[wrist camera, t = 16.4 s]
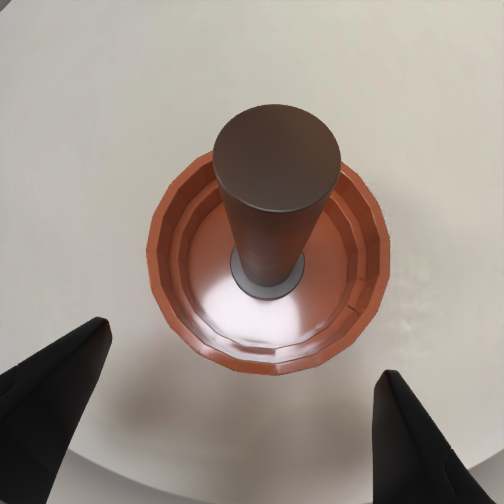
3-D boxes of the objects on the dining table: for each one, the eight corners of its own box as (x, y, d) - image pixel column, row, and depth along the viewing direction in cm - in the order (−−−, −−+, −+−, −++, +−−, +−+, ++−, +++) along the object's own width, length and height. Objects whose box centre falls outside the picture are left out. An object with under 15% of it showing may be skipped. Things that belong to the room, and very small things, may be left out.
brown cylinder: (270, 315, 19) (288, 290, 6) (216, 267, 20) (145, 162, 7) (317, 261, 20) (401, 153, 7) (264, 215, 21) (267, 61, 8)
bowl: (274, 402, 18) (279, 425, 14) (136, 271, 21) (102, 254, 16) (395, 257, 20) (430, 237, 15) (260, 146, 22) (259, 102, 18)
